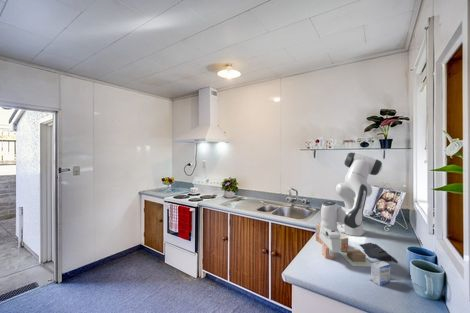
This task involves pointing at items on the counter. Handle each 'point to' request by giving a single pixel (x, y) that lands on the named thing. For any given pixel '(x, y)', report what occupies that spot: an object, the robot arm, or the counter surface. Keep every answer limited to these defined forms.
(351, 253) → the base brick
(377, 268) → the medicine box
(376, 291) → the counter surface
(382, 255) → the dark slate chunk
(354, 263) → the build plate
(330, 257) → the top brick
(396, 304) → the counter surface
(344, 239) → the stack of blocks
